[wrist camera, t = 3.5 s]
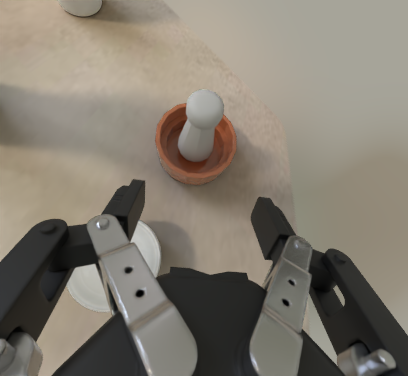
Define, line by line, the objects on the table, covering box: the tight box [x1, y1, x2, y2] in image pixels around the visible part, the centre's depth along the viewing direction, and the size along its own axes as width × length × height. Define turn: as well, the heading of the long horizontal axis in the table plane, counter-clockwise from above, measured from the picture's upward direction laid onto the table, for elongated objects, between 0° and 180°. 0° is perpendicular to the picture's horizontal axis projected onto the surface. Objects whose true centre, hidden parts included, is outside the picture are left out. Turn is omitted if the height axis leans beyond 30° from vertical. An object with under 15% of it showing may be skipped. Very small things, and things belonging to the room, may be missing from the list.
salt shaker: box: [178, 89, 224, 162], centre depth 26 cm, size 6×6×13 cm
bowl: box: [155, 103, 236, 185], centre depth 30 cm, size 12×12×5 cm
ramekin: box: [66, 220, 161, 312], centre depth 25 cm, size 11×11×5 cm
